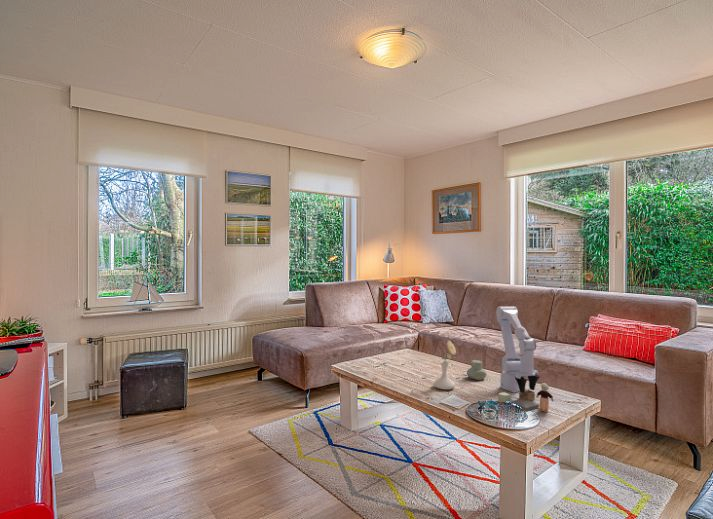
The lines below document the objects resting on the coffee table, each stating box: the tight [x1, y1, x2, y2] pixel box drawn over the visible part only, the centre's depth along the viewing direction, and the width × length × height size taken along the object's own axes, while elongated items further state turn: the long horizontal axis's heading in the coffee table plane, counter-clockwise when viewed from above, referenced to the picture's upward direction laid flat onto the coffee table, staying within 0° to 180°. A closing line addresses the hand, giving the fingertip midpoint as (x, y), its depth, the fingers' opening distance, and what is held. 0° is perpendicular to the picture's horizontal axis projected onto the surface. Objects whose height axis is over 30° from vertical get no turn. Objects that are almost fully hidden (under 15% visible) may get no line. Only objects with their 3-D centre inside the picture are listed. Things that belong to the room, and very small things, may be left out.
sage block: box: [497, 391, 511, 403], centre depth 194 cm, size 4×4×4 cm
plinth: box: [510, 398, 540, 412], centre depth 189 cm, size 9×9×2 cm
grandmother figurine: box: [535, 382, 555, 413], centre depth 183 cm, size 8×4×13 cm, turn 56°
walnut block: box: [518, 388, 536, 402], centre depth 198 cm, size 5×5×4 cm
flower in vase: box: [433, 340, 457, 390], centre depth 215 cm, size 13×11×25 cm
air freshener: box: [466, 359, 487, 381], centre depth 231 cm, size 11×8×10 cm
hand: (527, 390), depth 198 cm, fingers open, 7 cm apart
